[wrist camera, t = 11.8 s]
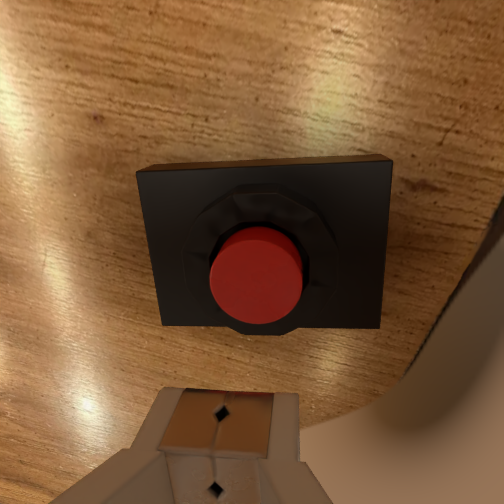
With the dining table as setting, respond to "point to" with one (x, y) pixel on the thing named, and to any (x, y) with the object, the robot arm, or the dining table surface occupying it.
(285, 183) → the button block
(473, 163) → the dining table surface
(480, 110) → the dining table surface
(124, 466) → the robot arm
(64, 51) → the dining table surface
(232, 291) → the button
